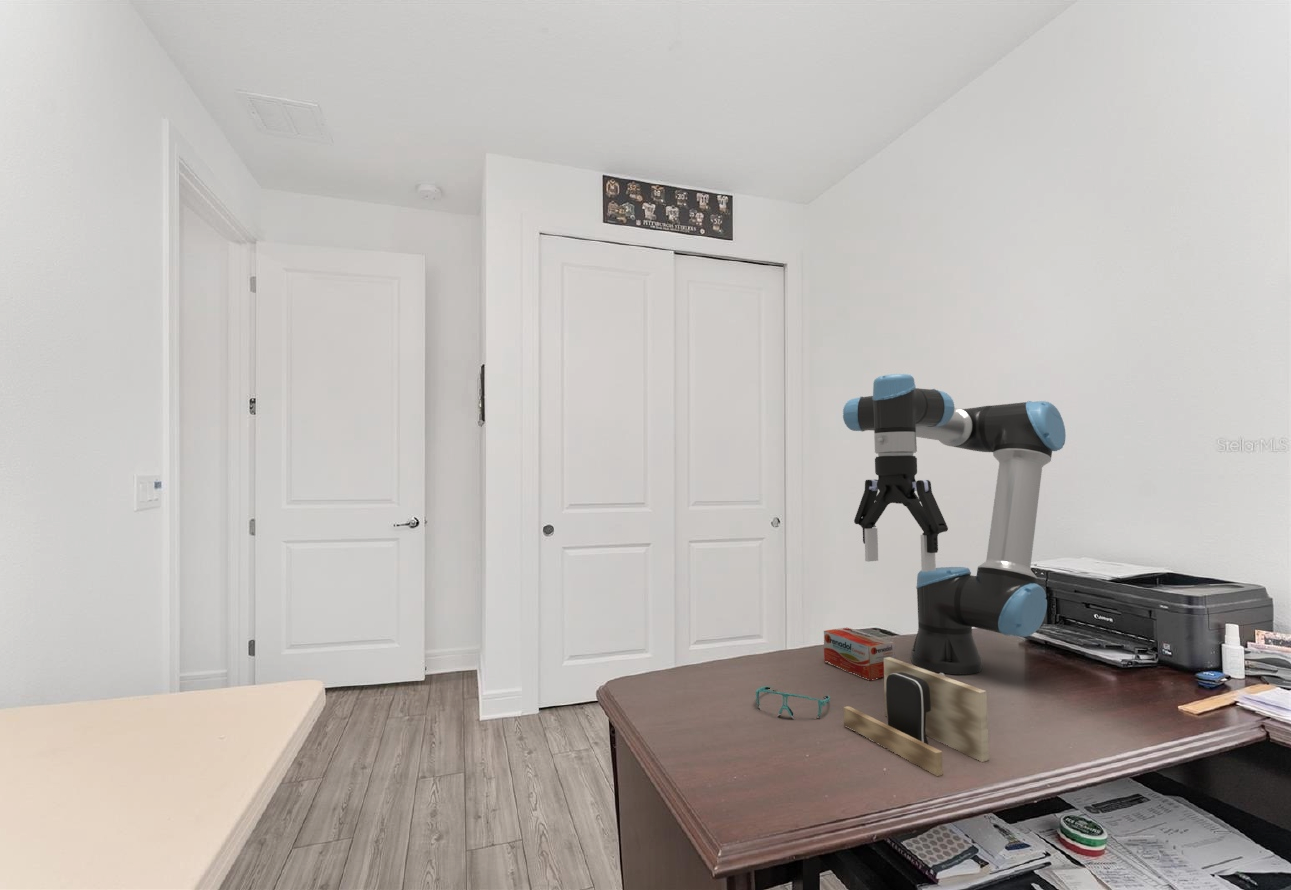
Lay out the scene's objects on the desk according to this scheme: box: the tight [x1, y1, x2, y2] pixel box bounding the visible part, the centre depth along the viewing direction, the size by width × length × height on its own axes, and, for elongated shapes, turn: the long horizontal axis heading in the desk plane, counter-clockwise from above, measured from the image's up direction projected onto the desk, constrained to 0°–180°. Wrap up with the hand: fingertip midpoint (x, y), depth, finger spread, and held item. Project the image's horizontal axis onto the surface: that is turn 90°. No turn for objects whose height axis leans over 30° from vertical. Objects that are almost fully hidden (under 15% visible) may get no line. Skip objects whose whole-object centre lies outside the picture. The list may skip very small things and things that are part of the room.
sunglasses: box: [755, 685, 831, 717], centre depth 120 cm, size 14×15×5 cm
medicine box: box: [823, 627, 896, 680], centre depth 142 cm, size 15×8×8 cm, turn 26°
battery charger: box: [886, 672, 931, 745], centre depth 104 cm, size 7×4×11 cm, turn 27°
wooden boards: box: [843, 657, 990, 777], centre depth 104 cm, size 20×12×11 cm, turn 25°
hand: (898, 565), depth 115 cm, fingers open, 13 cm apart
